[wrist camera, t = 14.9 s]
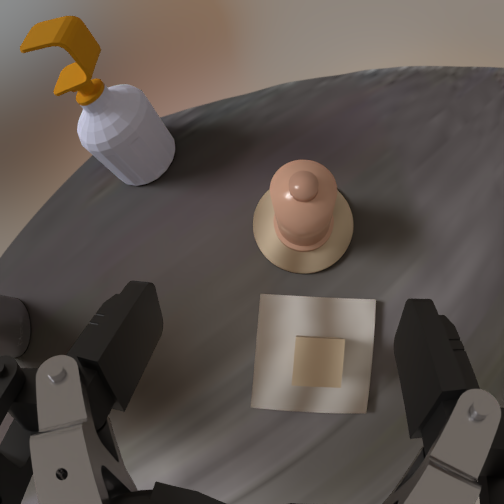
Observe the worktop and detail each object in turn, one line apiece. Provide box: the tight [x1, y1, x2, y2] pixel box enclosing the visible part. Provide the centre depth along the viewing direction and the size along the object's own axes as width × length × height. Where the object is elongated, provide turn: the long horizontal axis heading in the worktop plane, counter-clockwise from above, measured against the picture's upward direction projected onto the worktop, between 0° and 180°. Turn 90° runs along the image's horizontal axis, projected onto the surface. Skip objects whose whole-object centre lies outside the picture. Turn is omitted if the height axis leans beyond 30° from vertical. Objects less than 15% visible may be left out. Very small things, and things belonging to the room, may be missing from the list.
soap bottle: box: [20, 16, 175, 186], centre depth 29 cm, size 9×9×25 cm
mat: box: [253, 189, 353, 274], centre depth 35 cm, size 11×11×1 cm
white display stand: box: [251, 294, 376, 413], centre depth 28 cm, size 12×12×8 cm
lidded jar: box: [270, 160, 337, 252], centre depth 30 cm, size 6×6×10 cm
